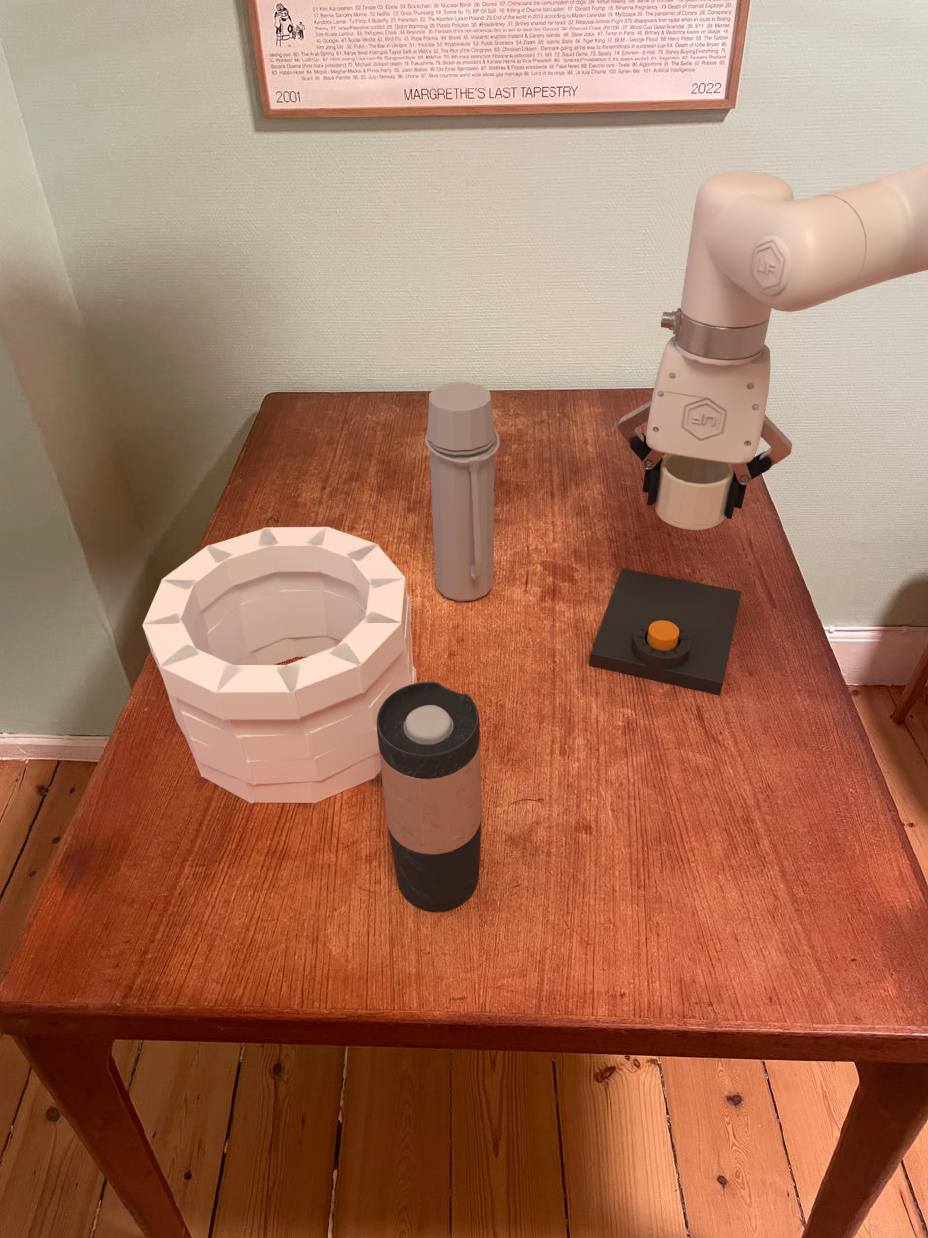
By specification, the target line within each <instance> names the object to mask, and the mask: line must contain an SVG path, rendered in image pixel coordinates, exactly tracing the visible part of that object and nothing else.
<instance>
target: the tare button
mask: <svg viewBox="0 0 928 1238" xmlns="http://www.w3.org/2000/svg"><path fill="white" fill-rule="evenodd" d="M678 637H679V629H678V627H677V626H676V625H675V624H673V623H671V622H669V621H663V620H660V621H655V622H653V623H652V624H650V626H649V629H648V635H647V642H648V644H649V645H650V646H651V647H653V648H654V649H659V650H663V651H666V650H671V649H673V648H675V647H676V645H677V642H678Z"/></svg>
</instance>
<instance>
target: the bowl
mask: <svg viewBox="0 0 928 1238" xmlns="http://www.w3.org/2000/svg"><path fill="white" fill-rule="evenodd" d="M662 459H663V460H662V462H661V465H660V473H659V480H658V487H657V494H656V501H655V504H654V510H655V513H656V515H657V516H658V517H659V519H660V520H661V521H663V522H664V523H666V524H668V525H670V526H673V527H676V528H678V529H683V530H689V531H702V530H708V529H712V528H714V527H717V526H718V525H720V524H721V523H722V522H723V521H724V520H725V518H726V517H725V512H726V507H727V502H728V497H729V493H730V488H731V483H732V480H733V476H734V468H733V465H732V464H728V463H721V462H714V461H707V460H701V459H694V458H688V457H682V456H676V455H670V454H666V455H664V456H663V457H662Z"/></svg>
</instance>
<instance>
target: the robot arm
mask: <svg viewBox="0 0 928 1238" xmlns="http://www.w3.org/2000/svg"><path fill="white" fill-rule="evenodd" d="M691 223H692V224H691V232H690V238H689V244H688V252H687V258H686V259H687V260H686V266H685V271H684V279H683V287H682V293H681V301H680V307H677V309H676V311H675V310H672V311H671V312H670V311H663V312H662V315H661V321H660V328H663V329H664V328H665V329H668V330H669V331H672V335H673V336H672V337H671V338H669V340H668V341H667V343H666V344H665V347H664V349H663V352H662V354H661V358H660V362H659V366H658V369H657V372H656V376H655V381H654V386H653V391H652V396H651V399H650V400H649V401H647V402H646V403H644V404H642V405H640V406H638V407H637V408H636V409H634V410H632V411H630V412H628V413H626V414H625V415H623V416H622V417H621V418H620V419H619V421H618V424H617V429H618V431H619V432H620V433H621V435H622V437H623V438H624V439H625V441H626V442H627V443H628V444H629V447H630V449H631V450H632V452H634V454H635V455H636V456H637V458H638V459H639V460H640V461H641V462H642V463H641V464H642V468H644V469H645V470H644V476H643V484H642V493H646V494H647V500H646V506H653V505H654V506H655V501H656V494H657V487H658V480H659V473H660V465H661V462H662V460H663V458H664V456H665V455H668V454H670V455H676V456H682V457H688V458H694V459H701V460H707V461H714V462H721V463H728V464H732V465H733V468H734V476H733V480H732V483H731V488H730V493H729V497H728V502H727V507H726V512H725V518H726V519H727V520H732V519H733V515H734V511H735V509H740V510H741V509H742V508H743V504H744V499H745V495H746V490H747V486H748V485H750V484H751V482H752V480H753V479H755V478H757V477H759V476H760V475H762V474H764V473H767V471H769V470H771V468H772V467H773V466H774V465H777V464H778V463H780V462H781V461H782V460H784V459H785V458H788V456H790V455H791V454H792V449H793V443H792V442H791V440H790V439H789V438H788V437H787V436H786V434H784V432H783V431H782V430H780V428H778V426H777V425H776V424H775V423H774V422H773V421H772V420H771V418H769V417H768V416H767V415H766V410H767V404H768V397H769V389H770V381H771V380H770V379H771V350H770V348H769V346H767V344H765V342H766V338H767V334H768V330H769V329H768V328H769V324H770V319H771V315H772V314H771V313H772V309H773V310H775V311H779V312H784V313H785V312H787V313H792V312H793V313H794V312H800V311H805V310H807V309H810V308H814V307H816V306H819V305H821V304H824V303H827V302H829V301H832V300H835V299H837V298H840V297H843V296H845V295H848V294H850V293H853V292H857V291H860V290H862V289H865V288H866V289H867V288H869V287H872V286H874V285H875V286H876V285H879V284H881V283H884V282H887V281H890V280H894V279H898V278H901V277H905V276H909V275H913V274H918V273H921V272H925V271H928V161H927V162H924V163H923V164H919V165H916V166H913V167H910V168H907V169H903V170H902V171H898V172H895V173H892V174H889V175H887V176H883V177H879V178H877V179H873V180H869V181H866V182H863V183H860V184H855V185H852V186H847V187H844V188H839V189H835V190H832V191H829V192H824V193H822V194H817V195H814V196H811V197H805V198H797V199H795V198H794V191H793V190H792V187H791V185H790V184H789V183H788V182H787V181H786V180H785V179H783V178H781V177H778V176H776V175H773V174H769V173H765V172H759V171H745V170H743V171H741V170H740V171H739V170H737V171H727V172H722V173H718V174H715V175H713V176H710V177H709V178H708V179H706V180H705V181H704V182H703V183H702V185H700V187H699V190H698V191H697V194H696V197H695V203H694V209H693V216H692V222H691ZM645 423H647V425H646V434H644V433H643V432H641V430H640V428H639V426H641V425H643V424H645ZM761 438H762V439H763V440H764V442H766V444H767V445H769V448H768V449H767V450H765V451H762V452H761V453H759V454H757V451H758V448H759V445H760V442H761V441H760V440H761Z"/></svg>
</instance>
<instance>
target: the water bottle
mask: <svg viewBox="0 0 928 1238" xmlns="http://www.w3.org/2000/svg"><path fill="white" fill-rule="evenodd" d="M426 428H427V429H426V433H425V439H424V443H425V445H426V446H427V449H428V450H429V463H430V464H429V465H430V466H429V468H430V487H431V489H430V491H431V509H432V510H431V511H432V529H433V530H432V531H433V550H434V551H433V553H434V572H435V573H434V574H435V576H434V577H435V589H437V590H438V591H439V593H441V595H443V596H444V597H445V598H446V599H449V600H452V601H455V602H460V603H461V602H473V601H476V600H478V599H480V598H483V597H485V596H486V595H487V594H488V593H489V592H490V590H491V589H492V588H493V587H494V585H495V584H494V583H495V581H494V578H495V576H494V575H495V574H494V573H495V572H494V571H495V567H494V566H495V563H494V561H495V482H494V456H495V455H496V453H497V451H498V449H499V448H500V446H501V442H500V441H501V439H500V435H499V433H498V432H497V430H496V428H495V425H494V416H493V405H492V396H491V391H489V390H488V389H487V388H486V387H484V386H483V385H480V384H475V383H471V382H450V383H446V384H443V385H440V386H437V387H435V388H434V389H433V390H432V391H431V392H429V395H428V410H427V427H426ZM495 442H496V443H495Z"/></svg>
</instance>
